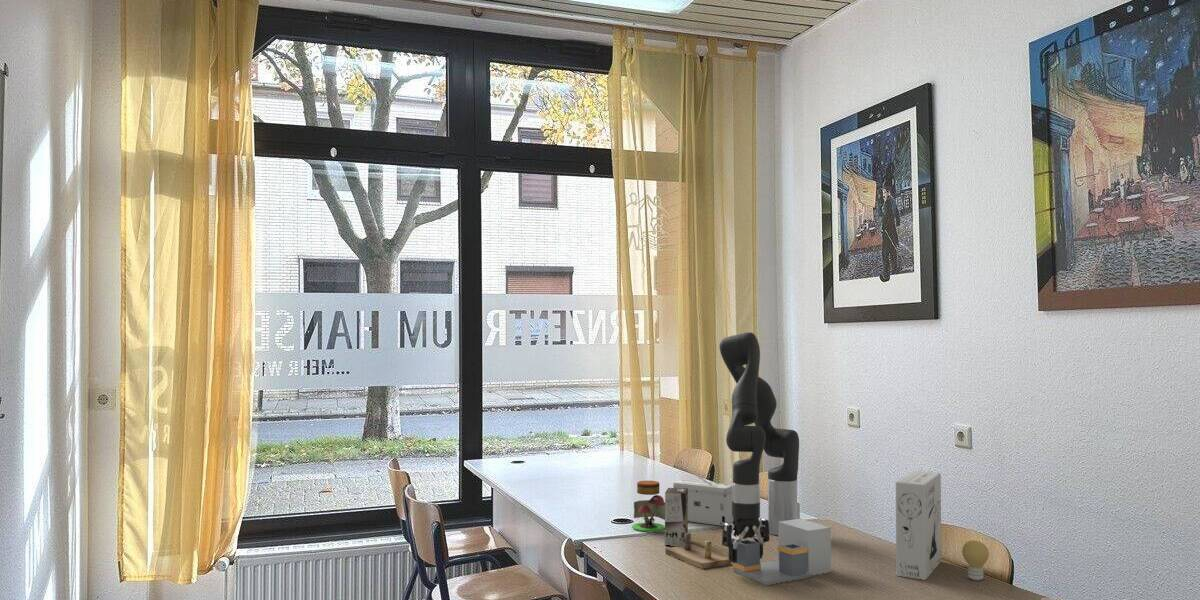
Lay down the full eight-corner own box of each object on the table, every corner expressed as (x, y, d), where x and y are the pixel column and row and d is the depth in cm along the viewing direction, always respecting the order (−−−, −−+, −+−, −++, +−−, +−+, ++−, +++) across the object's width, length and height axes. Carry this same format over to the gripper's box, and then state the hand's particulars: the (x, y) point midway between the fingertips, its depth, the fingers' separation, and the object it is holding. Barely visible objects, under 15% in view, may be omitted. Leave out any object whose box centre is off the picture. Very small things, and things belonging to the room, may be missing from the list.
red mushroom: (670, 532, 276) (670, 485, 276) (630, 532, 276) (631, 485, 277) (667, 524, 288) (668, 479, 288) (630, 523, 288) (630, 478, 288)
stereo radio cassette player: (737, 523, 289) (737, 464, 290) (727, 528, 282) (727, 467, 283) (681, 516, 300) (681, 458, 301) (670, 520, 293) (670, 461, 294)
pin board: (693, 549, 255) (693, 529, 255) (731, 564, 239) (731, 542, 240) (665, 553, 250) (665, 532, 250) (701, 569, 235) (701, 546, 235)
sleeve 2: (793, 568, 231) (793, 542, 232) (807, 574, 227) (807, 547, 227) (778, 571, 229) (778, 545, 229) (791, 576, 224) (791, 549, 224)
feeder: (797, 560, 243) (797, 517, 244) (833, 573, 231) (833, 528, 232) (733, 571, 232) (733, 526, 233) (767, 585, 220) (767, 538, 220)
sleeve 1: (748, 564, 236) (748, 538, 236) (760, 569, 231) (760, 543, 231) (732, 567, 233) (732, 541, 233) (745, 572, 228) (745, 545, 229)
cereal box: (925, 580, 225) (925, 484, 225) (895, 576, 229) (895, 481, 229) (941, 561, 243) (941, 472, 244) (913, 557, 247) (913, 470, 248)
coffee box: (685, 547, 258) (685, 493, 258) (664, 546, 259) (664, 492, 260) (688, 539, 267) (688, 487, 267) (667, 538, 268) (668, 486, 269)
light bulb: (958, 575, 229) (957, 538, 229) (981, 575, 230) (980, 537, 230) (970, 583, 223) (969, 544, 223) (993, 582, 223) (993, 543, 223)
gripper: (757, 495, 239) (757, 553, 239) (716, 499, 232) (716, 560, 232) (775, 499, 233) (775, 560, 232) (733, 504, 226) (733, 567, 225)
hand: (745, 560), depth 232 cm, fingers open, 8 cm apart
